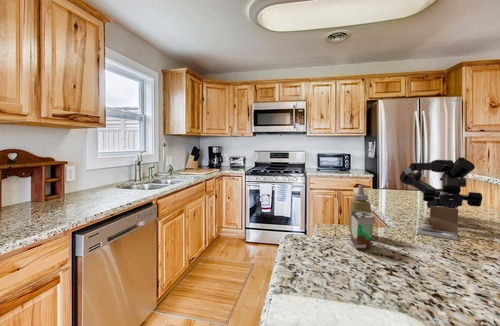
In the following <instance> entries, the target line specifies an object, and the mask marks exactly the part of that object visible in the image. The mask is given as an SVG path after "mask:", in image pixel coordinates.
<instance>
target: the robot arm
mask: <svg viewBox="0 0 500 326" xmlns="http://www.w3.org/2000/svg"><path fill="white" fill-rule="evenodd" d="M475 168H476V166H475V164H474V163H473V162H471V161H470V160H468V159H466V157H458V158H457V159H456V160H455V161H453V160H452V159H434V160H432V161H431V162H430V161H429V162H412V163H410V164H409V166H408V167H406V168H405V169H403V170H402V171H401V174H400V175H399V180H400V182H401V183H402V184H404V185H408V186H412V187H414V188H415V189H417V190H418V191H420V192H421V193H422V196H423V197H422V200H423V201H424V202H426V206H427V208H428V209H430V206H434V207H444V208H453V209H458V208H459V207H462V206H463V201H467V203H466V204H467V205H468V206H469V207H476V208H477V207H478V208H479V207H481V206H482V202H483V194H482V192H477V191H476V192H474V191H469V192H467V193H468V194H461V191H462V190H461V188H466V187H467V178H466V177H467V175H469V174H470V173H471V172H472V171H474V170H475ZM414 171H417V172H414ZM423 171H431V172H432V173H433V172H434V173H440V174H441V173H442V175H441V177H440V179H439V181H442V182H441V183H442V185H441V186H442V187H441V188H436V187H434V186H432V185H431V184H429V183H427V182H426V181H424V180H422V179H421V178H422V176H423V175H422V172H423Z"/></svg>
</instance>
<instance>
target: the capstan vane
mask: <svg viewBox="0 0 500 326" xmlns="http://www.w3.org/2000/svg"><path fill="white" fill-rule="evenodd" d="M419 224H420V225H419V226H420V229H423V230H429V231H432V230H438V231H445V232H452V233H457V234H458V228H459V227H458V225H459V209H458V208H456V209H453V208H444V206H443V207H434V206H430V208H429V217H427V216H424V217H423V222H420V223H419Z"/></svg>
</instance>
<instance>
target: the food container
mask: <svg viewBox="0 0 500 326" xmlns="http://www.w3.org/2000/svg"><path fill="white" fill-rule="evenodd" d="M375 224H376V217H375V215H374V214H373V213H372V212H371V213H367V212H363V211H355V210H351V233H350V242H351V243H352V245H353V247H354V249H355V250H356V251H368V250H371V246H372V238H373V237H372V236H373V229H374V225H375Z"/></svg>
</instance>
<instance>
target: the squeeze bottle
mask: <svg viewBox="0 0 500 326" xmlns="http://www.w3.org/2000/svg"><path fill="white" fill-rule="evenodd" d="M368 198H369V196H368V195H367V194H365V190H364V185H363V184H359V185H358V190H357V192H356V194H353V200H350V206H349V211H348V218H347V227H348V230H349V232H350V234H351V210H355V211H363V212H367V213H371V214H372V208H371V202H370V201H368V200H369V199H368Z"/></svg>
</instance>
